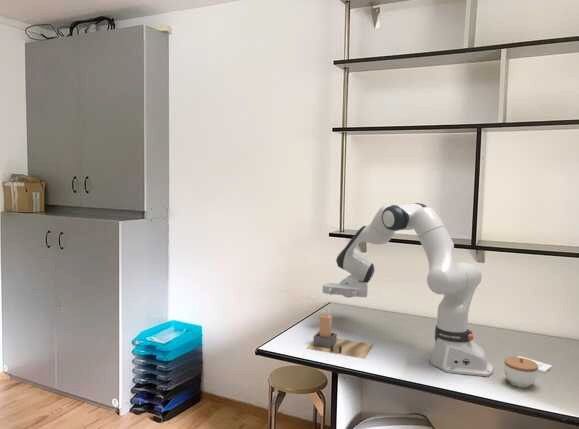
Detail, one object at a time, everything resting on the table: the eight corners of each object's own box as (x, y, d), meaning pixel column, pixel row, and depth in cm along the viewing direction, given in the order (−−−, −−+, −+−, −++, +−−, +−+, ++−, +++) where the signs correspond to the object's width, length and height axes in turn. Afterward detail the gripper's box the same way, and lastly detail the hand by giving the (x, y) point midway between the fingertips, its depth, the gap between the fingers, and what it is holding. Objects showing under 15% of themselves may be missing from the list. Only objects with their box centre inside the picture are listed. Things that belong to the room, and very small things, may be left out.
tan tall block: (331, 343, 202) (332, 310, 200) (328, 346, 198) (329, 313, 197) (321, 341, 203) (323, 309, 202) (318, 345, 199) (320, 311, 198)
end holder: (336, 342, 203) (336, 333, 202) (331, 348, 196) (331, 339, 195) (319, 339, 205) (319, 330, 205) (313, 345, 198) (313, 336, 198)
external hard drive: (519, 359, 195) (552, 369, 186) (510, 364, 189) (544, 374, 180) (519, 355, 194) (552, 365, 185) (511, 360, 189) (545, 370, 180)
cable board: (373, 346, 202) (374, 338, 202) (364, 361, 186) (364, 352, 186) (319, 337, 211) (319, 330, 211) (305, 350, 195) (306, 342, 195)
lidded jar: (540, 384, 170) (542, 358, 170) (530, 393, 163) (532, 366, 162) (509, 374, 178) (511, 350, 177) (498, 383, 170) (500, 357, 169)
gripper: (327, 278, 227) (318, 284, 214) (370, 282, 219) (363, 288, 206) (327, 291, 227) (317, 298, 214) (370, 296, 220) (363, 303, 207)
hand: (340, 293), depth 210 cm, fingers open, 8 cm apart
